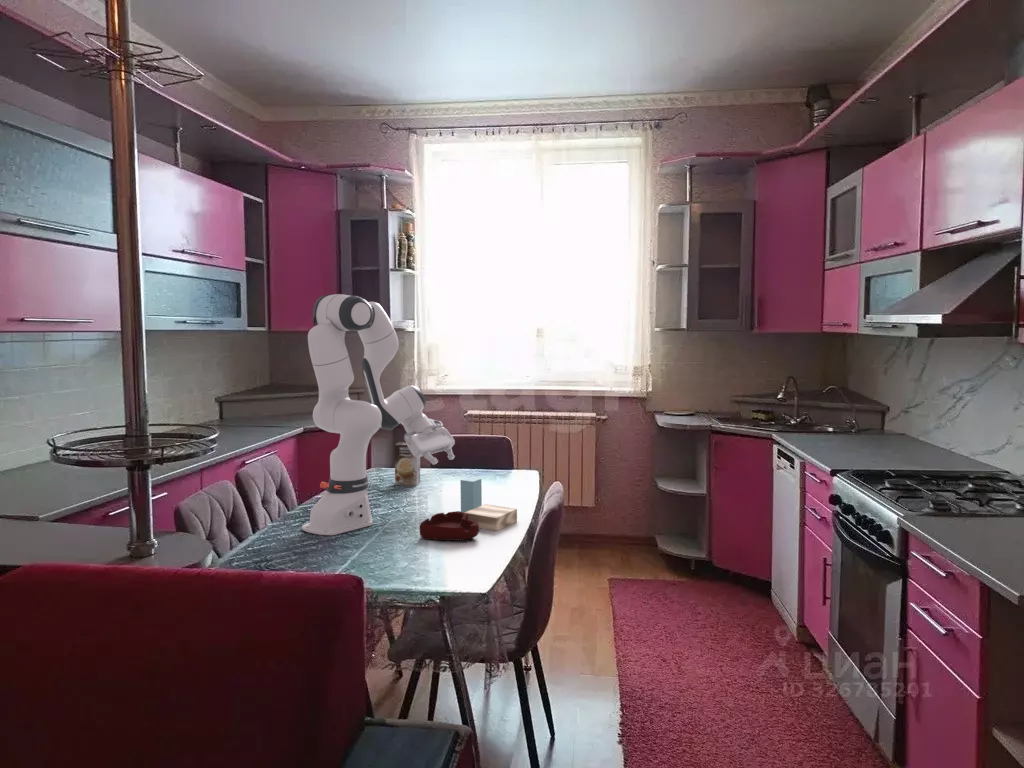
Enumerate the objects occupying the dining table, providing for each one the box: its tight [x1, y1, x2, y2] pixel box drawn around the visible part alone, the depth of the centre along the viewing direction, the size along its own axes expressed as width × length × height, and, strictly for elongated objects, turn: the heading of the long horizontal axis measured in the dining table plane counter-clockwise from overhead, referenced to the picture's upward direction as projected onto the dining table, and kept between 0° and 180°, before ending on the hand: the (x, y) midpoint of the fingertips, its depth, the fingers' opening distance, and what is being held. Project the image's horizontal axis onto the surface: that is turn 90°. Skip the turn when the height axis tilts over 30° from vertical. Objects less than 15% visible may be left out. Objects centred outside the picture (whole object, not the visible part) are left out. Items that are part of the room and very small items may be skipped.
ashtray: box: [419, 510, 480, 542], centre depth 204 cm, size 18×16×5 cm
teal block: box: [460, 476, 483, 513], centre depth 230 cm, size 5×5×11 cm
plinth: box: [464, 503, 518, 532], centre depth 216 cm, size 12×12×4 cm
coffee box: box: [394, 441, 421, 487], centre depth 271 cm, size 9×6×16 cm
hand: (444, 460), depth 234 cm, fingers open, 8 cm apart
